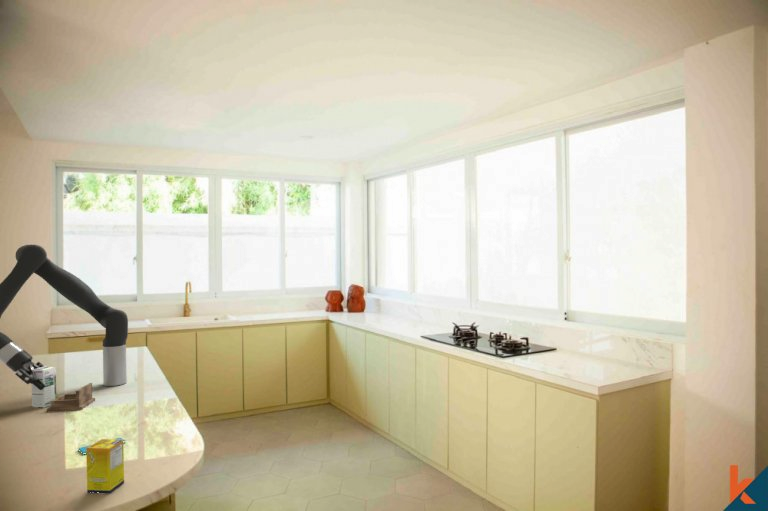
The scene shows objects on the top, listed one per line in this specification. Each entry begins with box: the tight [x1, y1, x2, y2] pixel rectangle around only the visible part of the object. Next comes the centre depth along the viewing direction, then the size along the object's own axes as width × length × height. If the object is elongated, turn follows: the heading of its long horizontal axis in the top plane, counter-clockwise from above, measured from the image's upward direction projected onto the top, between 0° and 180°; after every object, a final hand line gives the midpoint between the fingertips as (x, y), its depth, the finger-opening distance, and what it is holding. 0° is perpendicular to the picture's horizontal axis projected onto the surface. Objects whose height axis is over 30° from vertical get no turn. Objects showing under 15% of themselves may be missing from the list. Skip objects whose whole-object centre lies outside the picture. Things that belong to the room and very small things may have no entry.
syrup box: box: [30, 365, 58, 408], centre depth 195 cm, size 6×6×14 cm
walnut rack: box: [46, 382, 96, 413], centre depth 194 cm, size 12×12×7 cm
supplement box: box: [85, 438, 125, 494], centre depth 124 cm, size 6×6×11 cm
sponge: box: [77, 437, 126, 453], centre depth 151 cm, size 2×12×6 cm
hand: (48, 385), depth 196 cm, fingers closed on syrup box, 7 cm apart
